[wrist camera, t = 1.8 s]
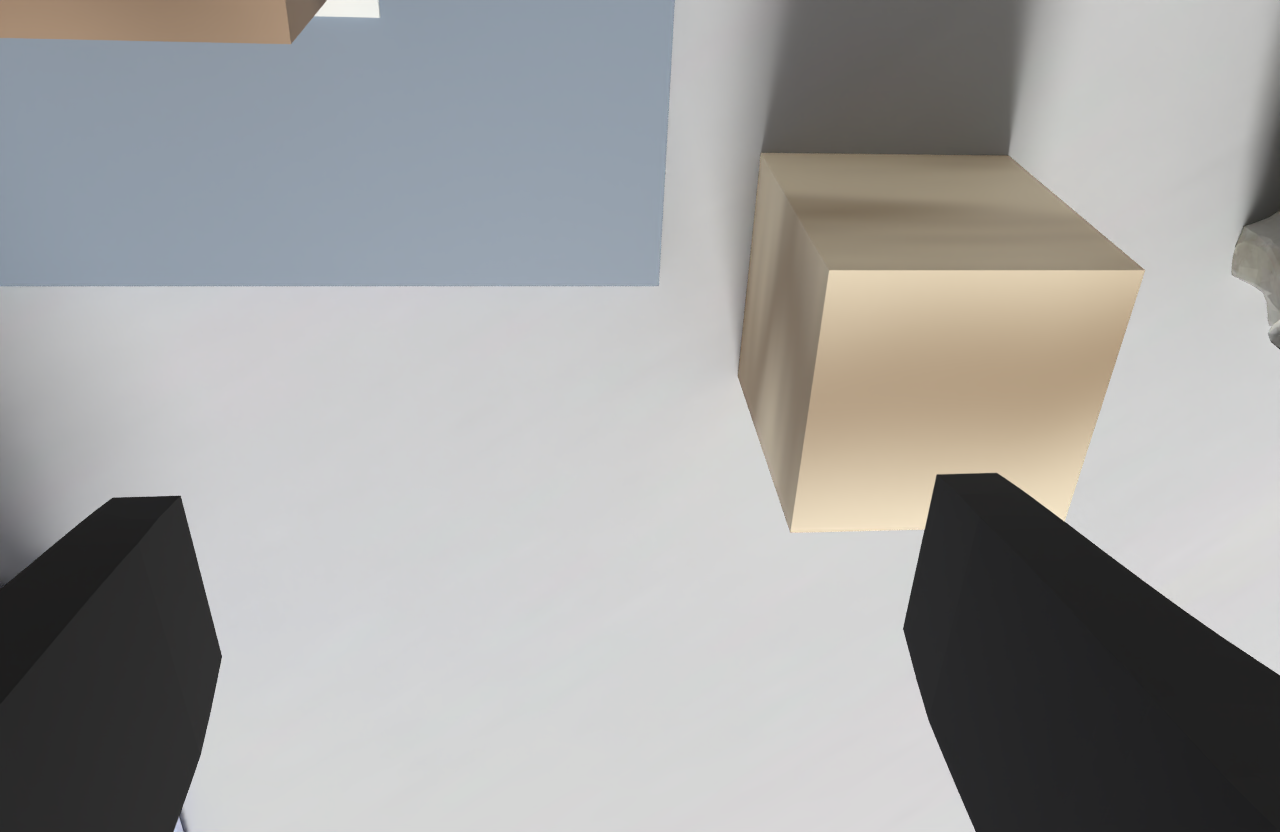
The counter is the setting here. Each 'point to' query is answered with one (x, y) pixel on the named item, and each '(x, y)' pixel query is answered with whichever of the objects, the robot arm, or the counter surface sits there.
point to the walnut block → (158, 20)
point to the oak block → (923, 333)
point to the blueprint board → (345, 151)
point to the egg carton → (1262, 265)
